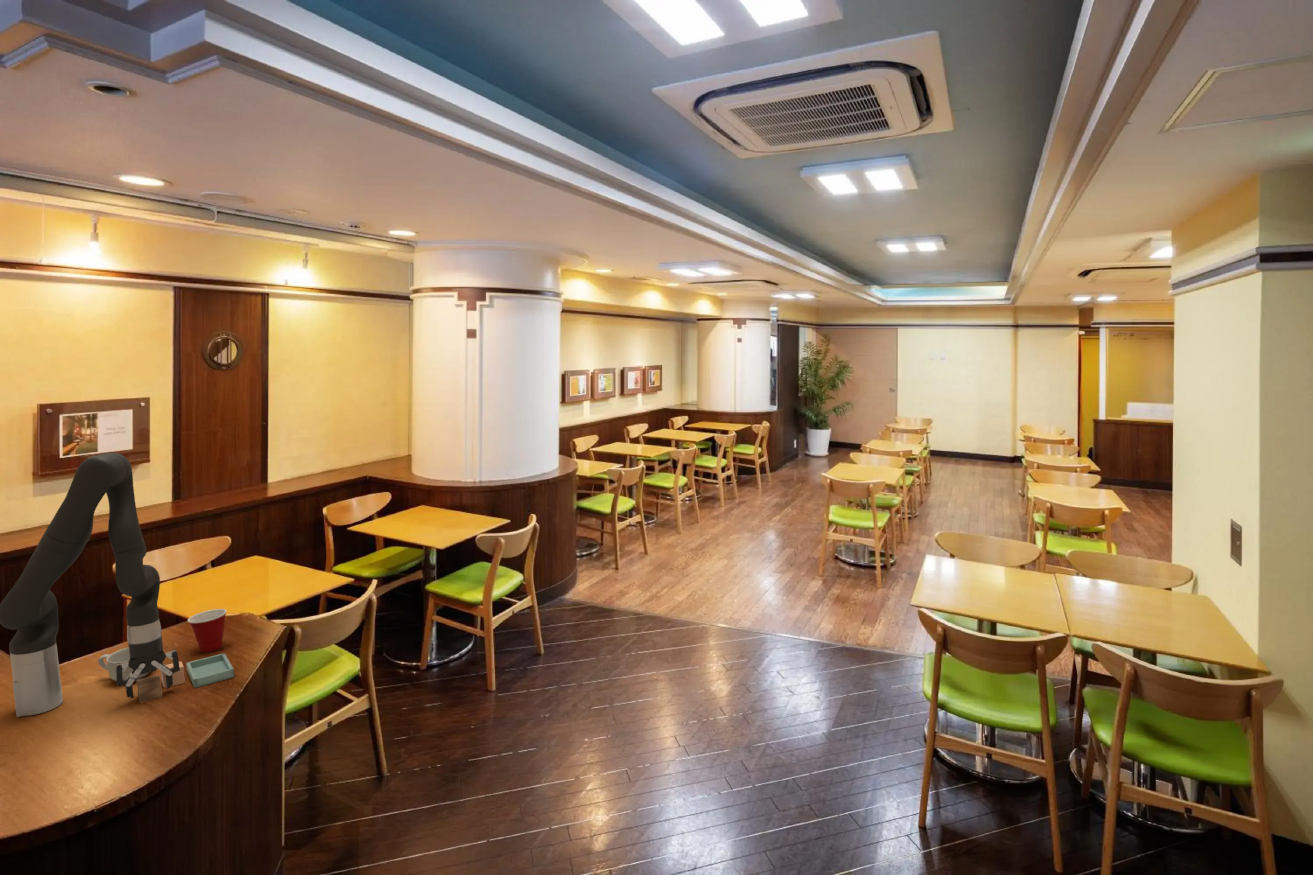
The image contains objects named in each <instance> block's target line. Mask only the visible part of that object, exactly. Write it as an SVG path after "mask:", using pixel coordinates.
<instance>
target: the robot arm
mask: <svg viewBox="0 0 1313 875" xmlns="http://www.w3.org/2000/svg"><path fill="white" fill-rule="evenodd" d="M131 464H132V463H131V462H130V461H129V458H127V457H126V456H124V455H123V454H121V453H118V452H117V453H116V452H106V453H102V454H98V455H94V456H90V457H87V458H86V459H85V460H83V461H82V462H81V463H80V464H79V466H78V467H77V469H76V471H75V473H74V475H73V479H72V481H71V484H70V486H69V489H68V491H67V493H66V496H65V498H64V499H63V501H62V503H61V505H60V506H59V508H58V510H57V511H56V513H55V514H54V515H53V518H52V520H51V521H50V523H49V524H48V526H47V527H46V529H45V531H44V533H43V535H42V536H41V538H40V540H39V542H38V544H37V546H36V547H35V549H34V550H33V551H34V552H33V553H32V555H31V556H30V559H29V560H28V561H27V564H25V567H24V569H23V572H22V573H21V574H20V575H19V578H18V580H16V582H15V584H14V585H13V586H12V588H11V589H10V590H9V591H8V593H7V594H6V596H5V597H4V598H3V599H2V600H1V603H0V625H1V626H2V627H4V628H5V629H8V630H16V633H15V634H14V636H13V637H12V639H11V640H10V641H9V644H8V645H9V646H8V647H9V649H8V650H9V656H10V663H11V664H10V665H11V671H12V672H11V673H12V674H11V675H12V680H13V681H12V689H13V697H14V706H15V714H16V718H20V717H27V716H35V715H40V714H42V713H47V712H49V711H51V710H53V709H56V708H57V707H59V706H61V705H62V704H63V701H64V700H63V690H62V681H61V680H62V679H61V673H60V665H59V664H60V662H59V655H58V646H57V635H58V633H59V629H60V627H59V626H60V625H59V623H60V622H59V609H58V608H59V607H58V606H59V605H58V601H57V597H56V596H55V594H54V593H53V591H52V590H51V588H52V587H53V585H54V584H55V583H56V581H58V580H59V579H60V577H61V576H62V575H63V574H65V573H66V572H67V570H69V568H70V567H71V566H72V565H73V564H74V563H75V561H76V560H77V559H79V556H80V555H81V553H82V552H83V550H84V548H85V547H86V545H87V543H88V542H89V541H90V539H91V538H90V537H91V536H92V532H93V528H94V515H95V511H96V509H97V508H98V505H99V504H100V502H101V500H102V499H103V497H104V496H105V495H106V496H107V500H108V501H107V502H108V508H109V512H108V513H109V516H108V528H107V531H108V533H107V534H108V538H109V543H110V546H111V549H112V552H113V556H114V558H115V559H114V560H115V563H114V565H115V566H114V569H115V582H116V586H117V588H118V590H119V591H120V593H121V594H123V595H124V596H126V597H130V598H131V599H130V602H129V603H128V604H127V606H126V609H125V616H126V626H127V628H126V634H127V636H126V639H127V647H129V656H130V659H129V662H126V663H122V664H121V663H117V664H116V678H117V681H116V684H117V686H118V687H125V692H126V697H127V698H130V699H134V698H135V696H134V688H133V687H134V686H133V683H134V682H135V681H134V680H135V679H136V678H137V677H138V675H139V674H146V673H147V674H148V673H153V672H156V671H157V670H158V671H160V672H161V671H162V672H164V673H165V675H166V685H167V688H166V689H167V690H168V689H169V690H170V689H171V687H173V686H172V685H173V678H172V675H173V673H175V672H178V671H179V670H180V667H179V662H180V661H179V654H178V651H177V649H175V648H174V649H172V650H171V651H167V652H165V651H164V642H163V635H162V626H161V622H160V615H159V607H158V601H159V594H160V586H161V578H160V574H159V571H158V570H157V569H156V568H155V567H154V566H153V565H149V564H144V558H145V556H146V555H147V546H146V543H145V539H144V537H143V536H144V535H143V532H142V529H141V526H140V521H139V517H138V511H137V505H136V498H135V497H136V496H135V489H134V477H133V469H132V465H131ZM167 658H168V659H169V660H172V663H173V667H172V668H168V667H167V666H166V665H167V664H165V663H164V661H165V660H166V659H167ZM128 666H129V667H130V668H131V669H133V670H132V672H131V673H130V675H129V677H128V678H127V680H123V676H122V672H123V671H125V670H126V667H128ZM147 674H146V675H147ZM170 686H171V687H170Z"/></svg>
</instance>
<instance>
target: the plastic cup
mask: <svg viewBox="0 0 1313 875" xmlns="http://www.w3.org/2000/svg"><path fill="white" fill-rule="evenodd" d="M226 615H227V609H225V608H214V609H209V610H205V611H201V612H198V613H195V614H194V615H192V616H190V617H189V618H188V619H187V623H189V624H190V626H191V629H192V631H193V632H194V636H195V640H196V641H197V644H198V647H199V651H200V652H201V653H212V652H213V653H214V652H215V651H218V650H220V649H221V648H222V646H223V638H224V629H225V620H226Z"/></svg>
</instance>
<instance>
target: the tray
mask: <svg viewBox="0 0 1313 875" xmlns="http://www.w3.org/2000/svg"><path fill="white" fill-rule="evenodd" d="M185 664H186V665H185V668H186V672H187V674H188V675H187V676H189V680H190V681H191V683H192V684H191V685H192V687H193V689H195V688H200V687H204V686H207V685H211V684H215V683H218V682H223V681H225V680H229V679H233V678H235V668H234V666H233V665H232V663H231V662H230V660H229V658H228V657H227V655H226V653H224V652H223V653H220V654H219V653H218V654H216V655H215V654H214V655H212V656H208V657H204V658H200V659H196V660H192V661H188V662H186V663H185Z"/></svg>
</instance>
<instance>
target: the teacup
mask: <svg viewBox="0 0 1313 875" xmlns="http://www.w3.org/2000/svg"><path fill="white" fill-rule="evenodd" d="M104 659H105V660H106V662H105V661H104ZM129 659H130V656H129V647H128V646H127V647H124V648H121V649H118V650H116V651H114V652H112V653H110V654H103V655H101V656H100V657H98V661H97V663H98V665H99V667H100V668H102V669H103V670H106V671H108V674H109V677H110V678H111V679H112V680H113V681H114V682H115V681H116V682H117V678H116V664H117V663H121V664H122V663H126V662H129ZM132 670H133V669H131V668H130V667H129V666H128V667H126V670H125V671H123V672H122V676H123V680H127V678H128V677H129V675H130V673H131V672H132ZM147 674H148V673H146V674H139V675H138V677H137V678H136V679H135V680H134V682H137V680H139V679H143V678H145V676H147Z"/></svg>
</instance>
